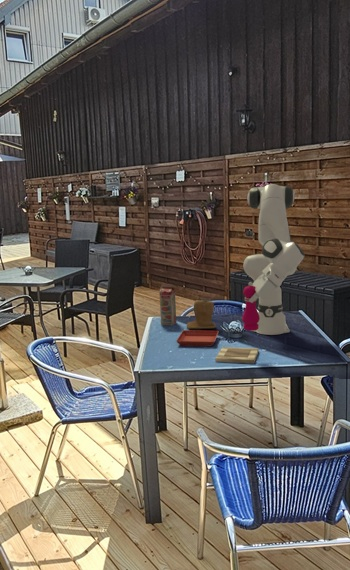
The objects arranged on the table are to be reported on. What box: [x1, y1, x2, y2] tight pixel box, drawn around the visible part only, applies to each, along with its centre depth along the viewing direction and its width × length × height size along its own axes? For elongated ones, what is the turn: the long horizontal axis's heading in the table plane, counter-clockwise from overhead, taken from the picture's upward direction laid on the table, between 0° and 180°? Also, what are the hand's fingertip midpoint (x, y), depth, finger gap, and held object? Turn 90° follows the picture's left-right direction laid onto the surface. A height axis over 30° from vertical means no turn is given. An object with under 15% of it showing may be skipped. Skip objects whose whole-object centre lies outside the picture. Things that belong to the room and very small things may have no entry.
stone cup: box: [186, 299, 217, 330], centre depth 267 cm, size 15×12×15 cm
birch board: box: [215, 346, 259, 364], centre depth 219 cm, size 16×16×2 cm
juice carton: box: [159, 283, 177, 326], centre depth 278 cm, size 7×7×22 cm
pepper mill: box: [241, 281, 260, 332], centre depth 214 cm, size 7×7×20 cm
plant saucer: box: [175, 329, 220, 347], centre depth 244 cm, size 18×18×3 cm
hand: (249, 299), depth 213 cm, fingers closed on pepper mill, 5 cm apart
